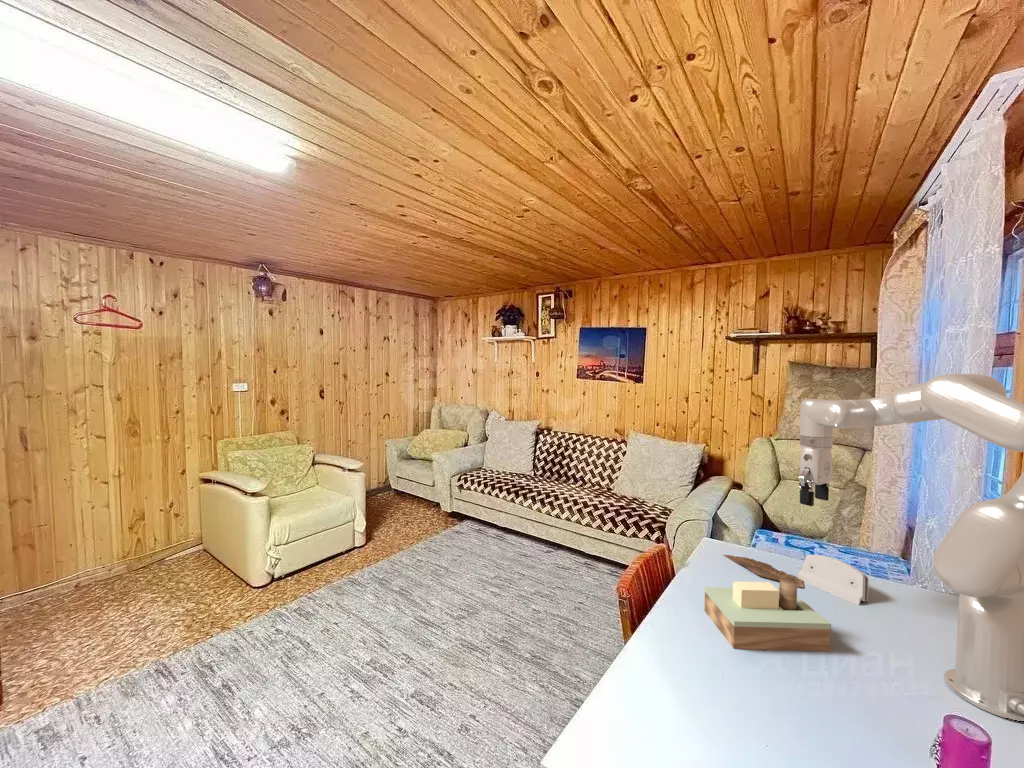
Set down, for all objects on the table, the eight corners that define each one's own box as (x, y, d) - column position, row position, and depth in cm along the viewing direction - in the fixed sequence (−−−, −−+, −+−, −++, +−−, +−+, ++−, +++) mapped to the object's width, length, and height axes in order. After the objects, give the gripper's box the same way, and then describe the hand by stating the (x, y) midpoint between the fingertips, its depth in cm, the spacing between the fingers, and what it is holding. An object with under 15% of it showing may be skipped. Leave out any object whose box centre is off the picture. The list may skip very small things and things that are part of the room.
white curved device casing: (795, 578, 128) (802, 547, 130) (803, 580, 130) (810, 549, 132) (860, 606, 113) (867, 570, 115) (867, 607, 116) (874, 572, 117)
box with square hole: (830, 654, 94) (830, 628, 93) (733, 651, 94) (734, 626, 94) (787, 615, 109) (788, 593, 108) (704, 613, 109) (704, 591, 109)
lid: (830, 628, 93) (831, 604, 93) (734, 626, 94) (734, 602, 94) (788, 593, 108) (788, 572, 108) (704, 591, 109) (705, 570, 109)
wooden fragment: (814, 585, 125) (814, 582, 125) (793, 594, 120) (793, 590, 120) (735, 552, 148) (735, 549, 148) (715, 558, 143) (715, 555, 143)
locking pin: (799, 634, 99) (800, 584, 99) (784, 634, 99) (785, 584, 99) (789, 625, 103) (790, 577, 103) (775, 625, 103) (776, 577, 103)
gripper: (818, 447, 108) (816, 511, 108) (843, 441, 117) (842, 500, 118) (786, 443, 114) (785, 503, 115) (813, 438, 124) (812, 494, 124)
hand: (814, 502), depth 116 cm, fingers open, 9 cm apart
